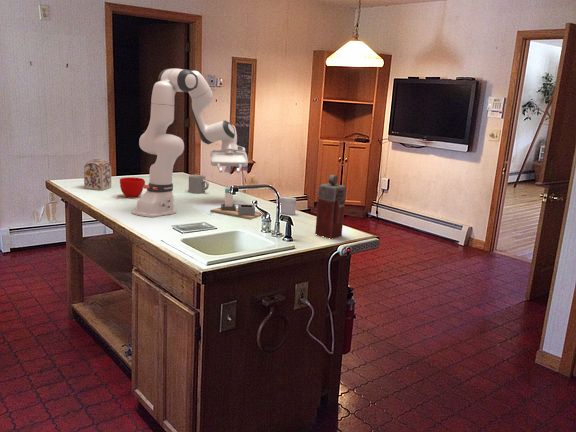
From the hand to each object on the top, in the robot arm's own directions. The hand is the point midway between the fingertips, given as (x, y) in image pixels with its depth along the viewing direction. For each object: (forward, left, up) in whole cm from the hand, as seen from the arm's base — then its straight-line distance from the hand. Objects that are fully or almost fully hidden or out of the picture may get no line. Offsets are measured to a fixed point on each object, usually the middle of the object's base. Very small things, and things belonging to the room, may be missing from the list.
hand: (229, 171), depth 284 cm
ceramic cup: (-16, +52, -19) cm, 58 cm away
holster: (-11, -7, -18) cm, 22 cm away
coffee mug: (+20, +34, -19) cm, 44 cm away
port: (-13, -20, -18) cm, 30 cm away
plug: (-11, -7, -18) cm, 22 cm away
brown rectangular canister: (-21, -70, -19) cm, 75 cm away
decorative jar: (-13, +83, -19) cm, 86 cm away
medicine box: (+6, -34, -19) cm, 39 cm away
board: (-12, -14, -19) cm, 26 cm away
